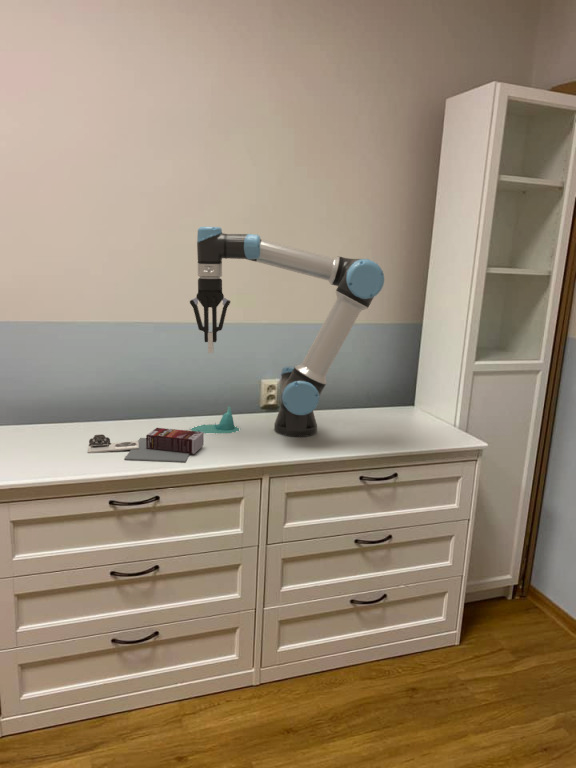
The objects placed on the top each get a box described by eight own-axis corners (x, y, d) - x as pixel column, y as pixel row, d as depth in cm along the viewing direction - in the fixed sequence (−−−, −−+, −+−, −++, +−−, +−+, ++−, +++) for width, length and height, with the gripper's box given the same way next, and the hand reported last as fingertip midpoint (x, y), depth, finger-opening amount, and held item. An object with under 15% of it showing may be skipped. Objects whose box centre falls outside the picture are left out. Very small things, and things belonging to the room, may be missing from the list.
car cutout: (87, 453, 183) (86, 438, 182) (89, 446, 189) (88, 432, 188) (138, 449, 186) (138, 435, 185) (138, 442, 193) (137, 428, 192)
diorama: (186, 425, 217) (186, 401, 215) (241, 424, 220) (242, 402, 218) (186, 435, 205) (186, 410, 203) (245, 434, 208) (245, 410, 207)
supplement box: (194, 439, 183) (145, 434, 186) (194, 454, 184) (145, 449, 187) (203, 430, 191) (156, 426, 194) (204, 445, 192) (156, 441, 195)
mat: (195, 441, 198) (195, 440, 198) (185, 462, 178) (185, 461, 178) (140, 439, 198) (140, 437, 197) (124, 460, 178) (124, 458, 178)
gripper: (187, 278, 185) (188, 354, 190) (230, 278, 186) (230, 354, 191) (190, 276, 192) (191, 350, 197) (231, 277, 193) (231, 350, 198)
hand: (210, 352), depth 194 cm, fingers closed
